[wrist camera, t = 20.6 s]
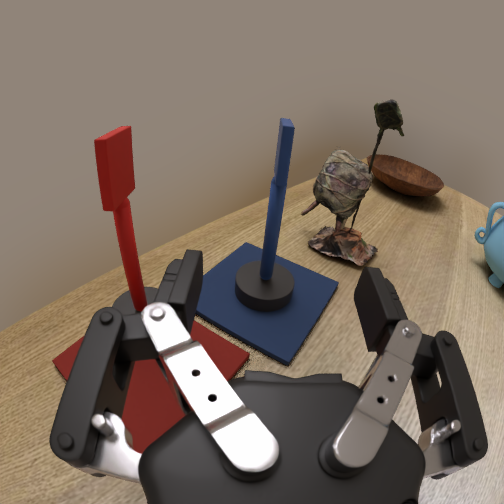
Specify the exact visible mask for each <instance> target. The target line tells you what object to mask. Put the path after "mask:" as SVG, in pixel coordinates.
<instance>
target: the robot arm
mask: <svg viewBox="0 0 504 504" xmlns="http://www.w3.org/2000/svg"><path fill="white" fill-rule="evenodd" d="M202 284H203V254H202V251H197V250H186V252H185V255H184V257H183V260H181V259H175V260H173V261H172V262H171V263H170V264H169V265H168V267H167V269H166V272H165V274H164V276H163V279H162V281H161V284H160V286H159V288H158V291H157V293H156V296H155V298H154V301H153V303H151V304H149V305H147V306H146V307H145V308H144V309H143V311H142V312H141V313H137V314H128V315H122V313H121V312H120V310H118V309H117V308H114V307H105V308H102V309H100V310H98V311H97V312H96V313H95V314H94V315H93V317H92V320H91V322H90V324H89V326H88V329H87V331H86V333H85V336H84V338H83V341H82V343H81V346H80V348H79V350H78V353H77V356H76V358H75V361H74V363H73V366H72V369H71V371H70V374H69V377H68V380H67V382H66V385H65V388H64V391H63V394H62V397H61V400H60V403H59V407H58V410H57V413H56V416H55V420H54V423H53V427H52V430H51V434H50V441H49V442H50V447H51V449H52V451H53V453H54V454H55V455H56V456H57V457H59V458H60V459H62V460H64V461H65V462H67V463H68V464H69V465H71V466H73V467H75V468H77V469H79V470H81V471H83V472H85V473H88V474H91V475H93V476H96V477H104V476H106V475H107V476H111V477H115V478H118V479H122V480H126V481H131V482H135V483H140V484H141V485H142V487H143V490H144V492H145V495H146V499H147V503H148V504H418V497H419V491H420V486H421V483H422V480H423V478H427V477H431V478H433V479H441V478H443V477H446V476H448V475H450V474H452V473H454V472H456V471H459V470H461V469H463V468H465V467H467V466H469V465H471V464H473V463H474V462H476V461H478V460H480V459H482V458H483V457H484V456H485V454H486V452H487V449H488V441H487V436H486V432H485V427H484V423H483V419H482V415H481V412H480V408H479V404H478V401H477V397H476V394H475V391H474V387H473V384H472V381H471V378H470V375H469V372H468V369H467V366H466V364H465V361H464V358H463V355H462V353H461V350H460V348H459V345H458V342H457V340H456V338H455V337H454V336H453V335H452V334H451V333H449V332H447V331H439V332H438V333H437V334H436V335H435V337H433V336H429V335H426V334H422V332H421V329H420V328H419V326H418V325H417V324H415V323H414V322H412V321H410V320H408V318H407V316H406V313H405V311H404V308H403V306H402V304H401V301H400V300H399V297H398V295H397V292H396V290H395V288H394V286H393V284H392V283H391V282H390V281H389V280H388V279H387V278H384V277H383V274H382V272H381V270H380V269H379V268H373V267H365V268H364V269H363V271H362V274H361V276H360V279H359V281H358V284H357V286H356V288H355V292H354V302H355V305H356V309H357V312H358V316H359V319H360V323H361V326H362V330H363V334H364V337H365V341H366V345H367V349H368V352H377V356H376V358H375V359H374V361H373V363H372V364H371V366H370V368H369V370H368V372H367V373H366V375H365V377H364V378H363V380H362V382H361V383H360V385H359V387H357V386H355V385H354V384H352V383H349V382H346V381H343V380H342V374H315V375H311V376H306V377H301V378H290V377H286V376H283V375H279V374H275V373H272V372H263V371H249V370H245V374H244V377H240V378H235V379H232V380H229V381H226V380H225V378H224V377H223V376H222V374H221V373H220V371H219V370H218V369H217V367H216V366H215V364H214V363H213V361H212V360H211V359H210V357H209V356H208V354H207V353H206V351H205V350H204V348H203V347H202V345H201V344H200V343H199V342H198V341H197V340H195V341H193V340H192V338H191V337H190V334H191V330H192V326H193V321H194V317H195V313H196V309H197V305H198V301H199V297H200V293H201V289H202ZM150 359H154V360H155V362H156V364H157V366H158V367H159V369H160V371H161V373H162V375H163V377H164V379H165V381H166V382H167V384H168V386H169V388H170V390H171V392H172V394H173V396H174V398H175V400H176V402H177V404H178V406H179V407H180V409H181V411H182V413H183V414H184V417H183V418H182V419H181V420H179V421H178V422H177V423H176V424H175V425H173V426H172V427H171V428H170V429H169V430H167V431H166V432H165V433H164V434H162V435H161V436H160V437H159V438H157V439H156V440H155V441H154V442H152V443H151V444H150V445H149V446H148V447H147V448H146V449H145V450H144V452H143V453H142V454H141V453H138V452H136V451H135V450H134V447H133V438H132V433H131V431H130V430H129V428H128V427H127V426H126V425H125V424H124V423H123V421H122V415H123V410H124V406H125V401H126V397H127V393H128V388H129V384H130V380H131V376H132V372H133V368H134V365H135V361H141V360H150ZM438 371H439V375H440V378H441V382H442V385H441V389H440V385H439V381H438V378H437V374H436V373H437V372H438ZM410 377H411V381H412V385H413V390H414V394H415V399H416V404H417V409H418V414H419V419H420V425H421V431H422V433H421V435H420V437H419V440H418V444H417V443H416V442H415V441H414V440H413V439H412V438H411V437H410V436H408V435H407V434H406V433H405V432H404V431H403V430H402V429H401V428H400V427H399V426H398V425H397V424H396V423H395V422H394V421H393V420H392V418H393V416H394V414H395V412H396V409H397V407H398V405H399V403H400V401H401V398H402V396H403V394H404V392H405V389H406V387H407V384H408V382H409V380H410Z"/></svg>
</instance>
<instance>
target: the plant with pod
mask: <svg viewBox="0 0 504 504" xmlns="http://www.w3.org/2000/svg"><path fill="white" fill-rule="evenodd" d="M374 110H375V117H376V123H377V125H378V127H380V130H379V134H378V138H377V143H376V146H375V148H374V151H373V154H372V157H371V161H370V166H369V167H368V165H367V164H365V163H363V162H362V161H360V160H358V159H356V158H355V157H353V156H352V155H350V154H349V153H348V152H347V151H344V150H335V151H334V152H332V154H331V155H330V157H329V158H328V159H327V160H326V161H325V164H324V165H323V167H322V170H321V172H320V173H319V175H318V176H317V178H316V180H315V183H314V185H313V193H314V195H315V198H316V201H315V202H313V203H312V204H311V205H310V206H309V208H307V209H305V210H304V211H302V213H301V215H302V216H303V215H305V214H307V213H308V212H309V211H311V210H313V209H314V208H315V207H316V206H317V205H319V204H320V203H321V204H322V205H323V206H325V207H327V208H328V209H329V210H330V211H331V213H333V214H335V215H337V216H336V227H335V229H334V228H333V227H332V228H331V227H328V226H327V227H326V226H325V227H324V228H323V229H322V228H321V231H319V233H317V234H316V236H313V240H309V241H308V244H309V245H310V247H314V248H316V250H319V251H321V252H322V253H326V254H327V255H330V256H335V257H339V256H341V257H342V258H344V259H350V260H351V261H354V263H356V264H357V265H358V266H362V265H365V264H364V263H363V262H366V263H367V259H372V258H371V256H372V255H374V252H378V251H377V249H376V248H375V247H373V246H372V245H370V244H366V243H365V241H363V239H362V238H361V234H362V233H361V232H359V231H357V230H354V229H352V227H353V224H354V221H355V217H356V215H357V212H358V209H359V206H360V203H361V200H362V199H363V198H364V197H365V194H366V192H367V191H368V190H369V187H370V184H371V182H372V180H373V178H372V177H373V176H372V172H371V169H372V166H373V162H374V158H375V155H376V151H377V148H378V146H379V144H380V141H381V139H382V136H383V132H384V130H386V129H388V128H389V129H393V130H395V129H397V130H398V131H399V133H400V135H401V136H404V134H403V132H402V128H401V125H403V119H402V115H401V112H400V109H399V106H398V103H397V102H396V101H395V100H389V101H385V102H384V101H383V102H380V103H376V104H375V106H374ZM338 148H339V147H338ZM356 209H357V210H356ZM355 210H356V213H355V214H354V216H353V221H352V227H351V228H347V227H344V226H345V223H346V221H347V219H348V217H350V216H351V215H352V214H353V213H354V212H355ZM311 239H312V238H311ZM369 254H370V255H371V254H372V255H371V256H370V255H369ZM369 256H370V257H369Z"/></svg>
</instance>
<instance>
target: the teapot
mask: <svg viewBox="0 0 504 504" xmlns="http://www.w3.org/2000/svg"><path fill="white" fill-rule="evenodd" d="M498 208H503V209H504V202H496V203H494V204H493V205H492V206H491V208H490V210H489V213H488V217H487V223H486V230H485V228H483V227H479V228H478V229H477V230H476V232H475V239H476V240H477V242H478V243H480V244H484V251H485V257H486V261H487V263H488V265H489V267H490V268H491V270H492V271H493V272H494V273H493V274H492V275H491V276H490V277H489V281H490V283H491V284H492V285H493V286H495V287H497V288H500V287H501V286H502V284H503V283H504V216H502V217H501V218H500V219H499V220H498V221H497V222H496V223H495V224H494V225H493V226H492V227H491V224H492V219H493V215H494V213H495V210H496V209H498ZM480 232H484V233H485V234H484V236H483V237H480V235H479V233H480Z"/></svg>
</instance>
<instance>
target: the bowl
mask: <svg viewBox="0 0 504 504" xmlns="http://www.w3.org/2000/svg"><path fill="white" fill-rule="evenodd" d="M371 157H372V155H370V156H368V157H367V161H368V165H369V166H370V161H371ZM371 171H372V173H373V174H374V175H375V177H376V178H378V179H379V180H380V181H381V182H383V183H384V184H385V185H387V186H388V187H389V188H391V189H393V190H395V191H397V192H399V193H401V194H404V195H412V196H432V195H434V194H436V193H438V192H439V191H440V190H441V189H442V188H443V187H444V184H443V182H442V180H441V179H440V178H439V177H438V176H436V175H435V174H433V173H432V172H430V171H428V170H426V169H424V168H422V167H420V166H418V165H415V164H413V163H411V162H408V161H405V160H403V159H400V158H397V157H394V156H388V155H377V154H376V155H375V158H374V162H373V166H372V169H371Z"/></svg>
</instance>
